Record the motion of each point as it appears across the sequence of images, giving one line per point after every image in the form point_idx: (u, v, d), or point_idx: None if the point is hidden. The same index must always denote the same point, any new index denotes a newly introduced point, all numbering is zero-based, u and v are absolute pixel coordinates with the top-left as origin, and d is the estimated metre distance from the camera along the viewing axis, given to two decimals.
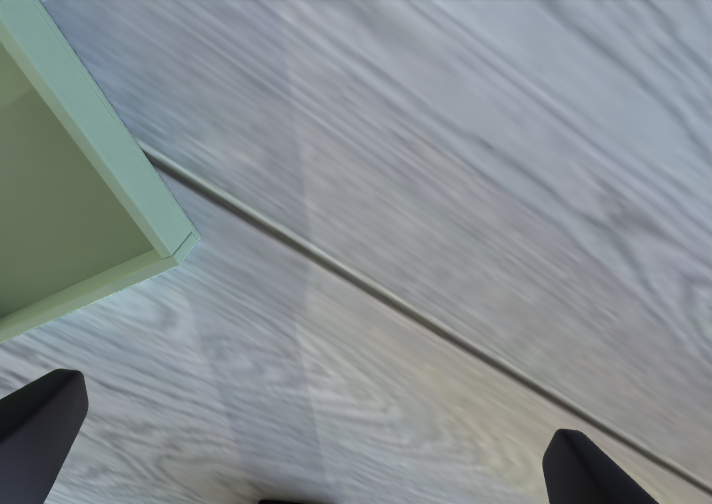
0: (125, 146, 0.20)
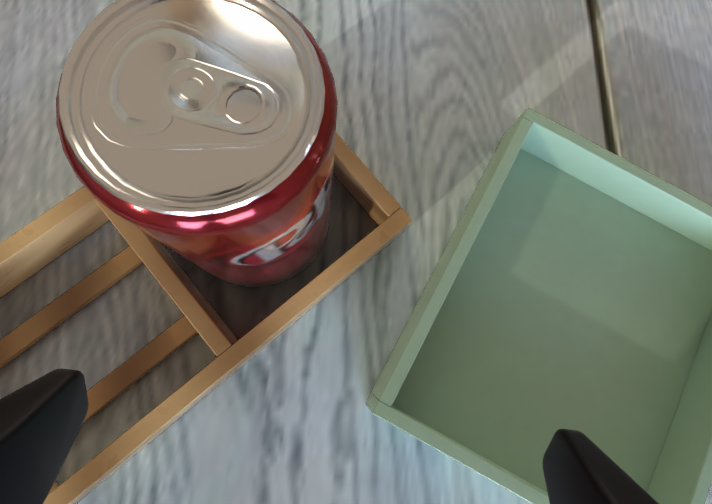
0: None
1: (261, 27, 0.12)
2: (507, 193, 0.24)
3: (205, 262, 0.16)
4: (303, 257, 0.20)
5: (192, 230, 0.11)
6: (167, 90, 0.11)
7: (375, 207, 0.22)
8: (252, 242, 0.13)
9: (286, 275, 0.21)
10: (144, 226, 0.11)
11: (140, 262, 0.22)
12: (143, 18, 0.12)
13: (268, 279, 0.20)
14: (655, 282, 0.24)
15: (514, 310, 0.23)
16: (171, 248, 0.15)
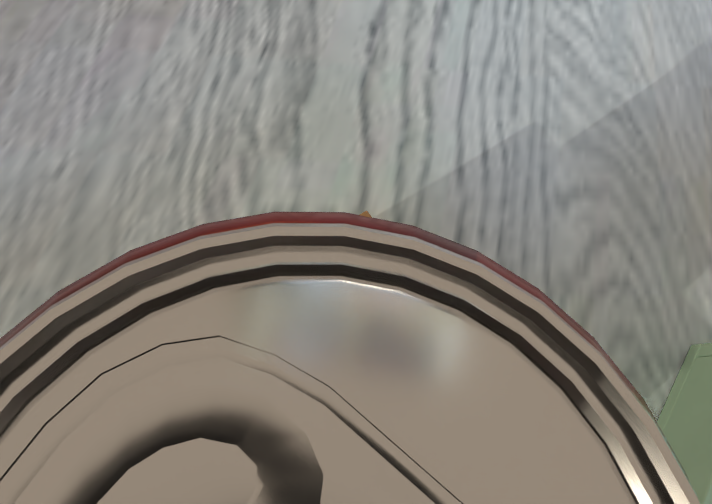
0: None
1: (528, 401, 0.04)
2: None
3: None
4: None
5: None
6: None
7: None
8: None
9: None
10: None
11: None
12: (167, 344, 0.04)
13: None
14: None
15: None
16: None
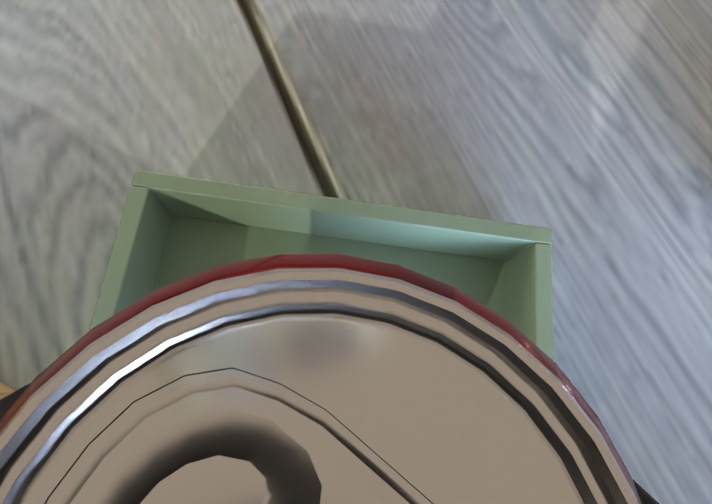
0: None
1: (496, 421, 0.05)
2: None
3: None
4: None
5: None
6: None
7: None
8: None
9: None
10: None
11: None
12: (188, 375, 0.04)
13: None
14: None
15: None
16: None
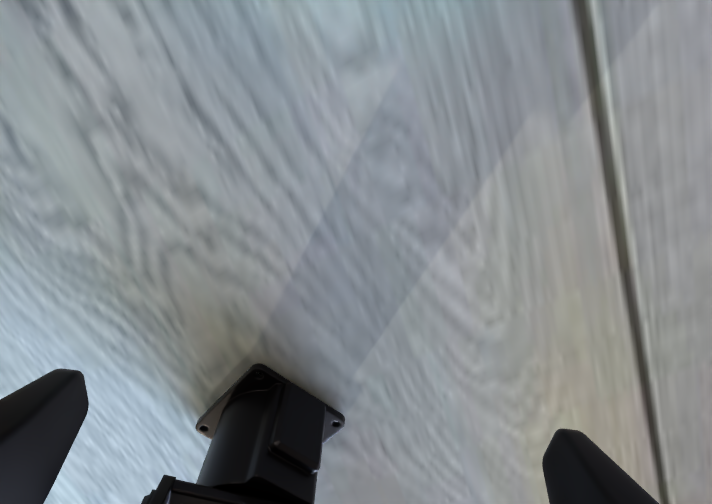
0: None
1: None
2: None
3: None
4: None
5: None
6: None
7: None
8: None
9: None
10: None
11: None
12: None
13: None
14: None
15: None
16: None
